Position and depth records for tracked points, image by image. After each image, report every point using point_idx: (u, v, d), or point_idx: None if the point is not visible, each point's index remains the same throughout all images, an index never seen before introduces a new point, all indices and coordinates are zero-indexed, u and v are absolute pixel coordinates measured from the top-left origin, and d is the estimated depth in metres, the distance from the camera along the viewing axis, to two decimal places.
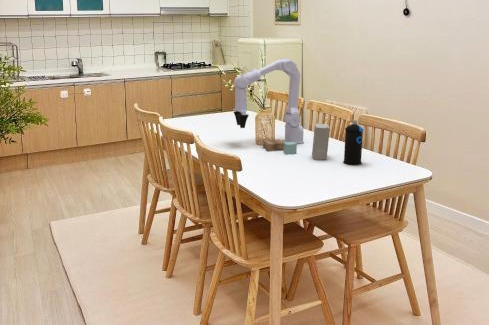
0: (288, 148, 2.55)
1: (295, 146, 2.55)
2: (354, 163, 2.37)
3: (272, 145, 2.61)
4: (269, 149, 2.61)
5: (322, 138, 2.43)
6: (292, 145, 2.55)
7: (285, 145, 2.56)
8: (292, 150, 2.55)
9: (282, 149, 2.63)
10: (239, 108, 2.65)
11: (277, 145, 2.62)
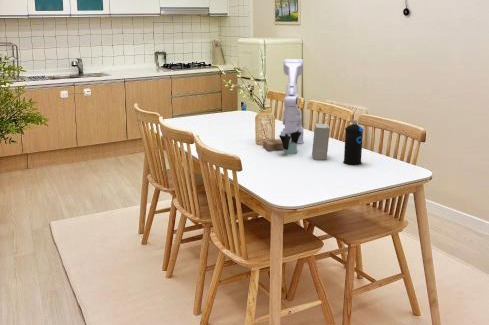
0: (288, 148, 2.55)
1: (295, 146, 2.55)
2: (354, 163, 2.37)
3: (272, 145, 2.61)
4: (269, 149, 2.61)
5: (322, 138, 2.43)
6: (292, 145, 2.55)
7: None
8: (292, 150, 2.55)
9: (282, 149, 2.63)
10: (285, 128, 2.54)
11: (277, 145, 2.62)
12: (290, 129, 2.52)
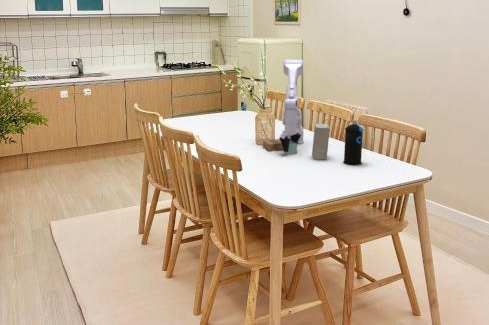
0: None
1: (295, 146, 2.55)
2: (354, 163, 2.37)
3: (272, 145, 2.61)
4: (270, 149, 2.61)
5: (322, 138, 2.43)
6: (292, 145, 2.55)
7: None
8: (292, 150, 2.55)
9: (282, 149, 2.63)
10: (285, 131, 2.54)
11: (277, 145, 2.62)
12: (290, 131, 2.52)
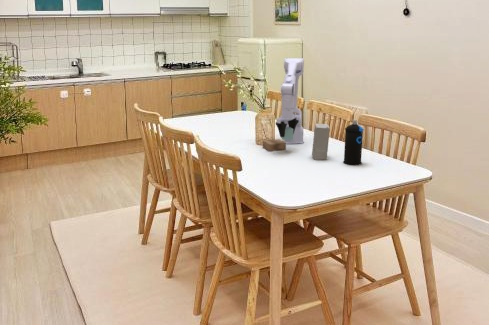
0: None
1: (292, 131, 2.55)
2: (354, 163, 2.37)
3: (273, 145, 2.61)
4: (270, 149, 2.61)
5: (322, 138, 2.43)
6: (289, 130, 2.55)
7: None
8: (289, 135, 2.55)
9: (282, 149, 2.63)
10: (282, 116, 2.54)
11: (278, 145, 2.62)
12: (286, 116, 2.52)
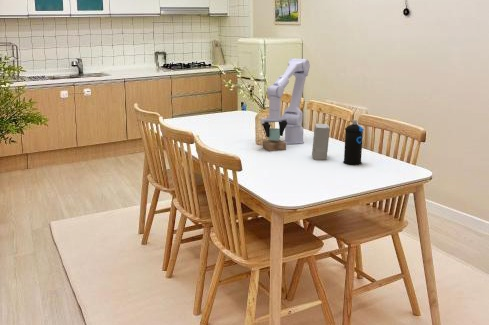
0: (270, 134, 2.62)
1: (277, 132, 2.61)
2: (354, 163, 2.37)
3: (273, 145, 2.61)
4: (270, 149, 2.61)
5: (321, 138, 2.43)
6: (274, 131, 2.61)
7: None
8: (274, 136, 2.62)
9: (283, 149, 2.63)
10: (269, 117, 2.62)
11: (278, 145, 2.62)
12: (271, 118, 2.60)
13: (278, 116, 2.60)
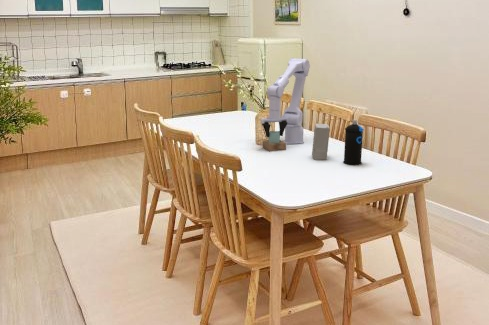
0: (270, 136, 2.62)
1: (277, 135, 2.62)
2: (354, 163, 2.37)
3: (273, 145, 2.61)
4: (270, 149, 2.61)
5: (322, 138, 2.43)
6: (274, 134, 2.62)
7: None
8: (274, 139, 2.62)
9: (283, 149, 2.63)
10: (269, 117, 2.62)
11: (278, 145, 2.62)
12: (271, 118, 2.60)
13: (278, 116, 2.60)
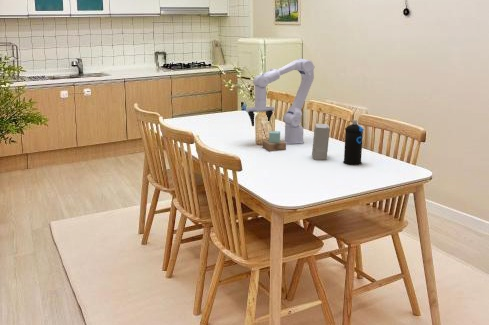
0: (270, 136, 2.62)
1: (277, 135, 2.62)
2: (354, 163, 2.37)
3: (273, 145, 2.61)
4: (270, 149, 2.61)
5: (322, 138, 2.43)
6: (274, 134, 2.62)
7: None
8: (274, 139, 2.62)
9: (283, 149, 2.63)
10: None
11: (278, 145, 2.62)
12: (256, 107, 2.66)
13: (263, 106, 2.66)
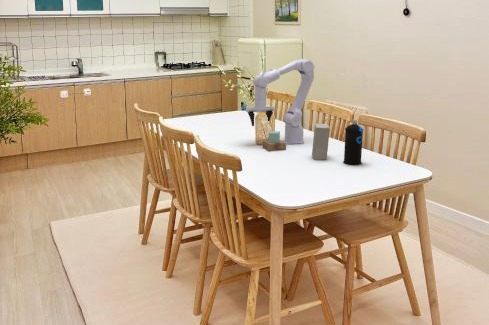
0: (270, 136, 2.62)
1: (277, 135, 2.61)
2: (354, 163, 2.37)
3: (273, 145, 2.61)
4: (270, 149, 2.61)
5: (321, 138, 2.43)
6: (274, 134, 2.62)
7: (269, 133, 2.64)
8: (274, 139, 2.62)
9: (283, 149, 2.63)
10: None
11: (278, 145, 2.62)
12: (256, 107, 2.66)
13: (263, 106, 2.66)
